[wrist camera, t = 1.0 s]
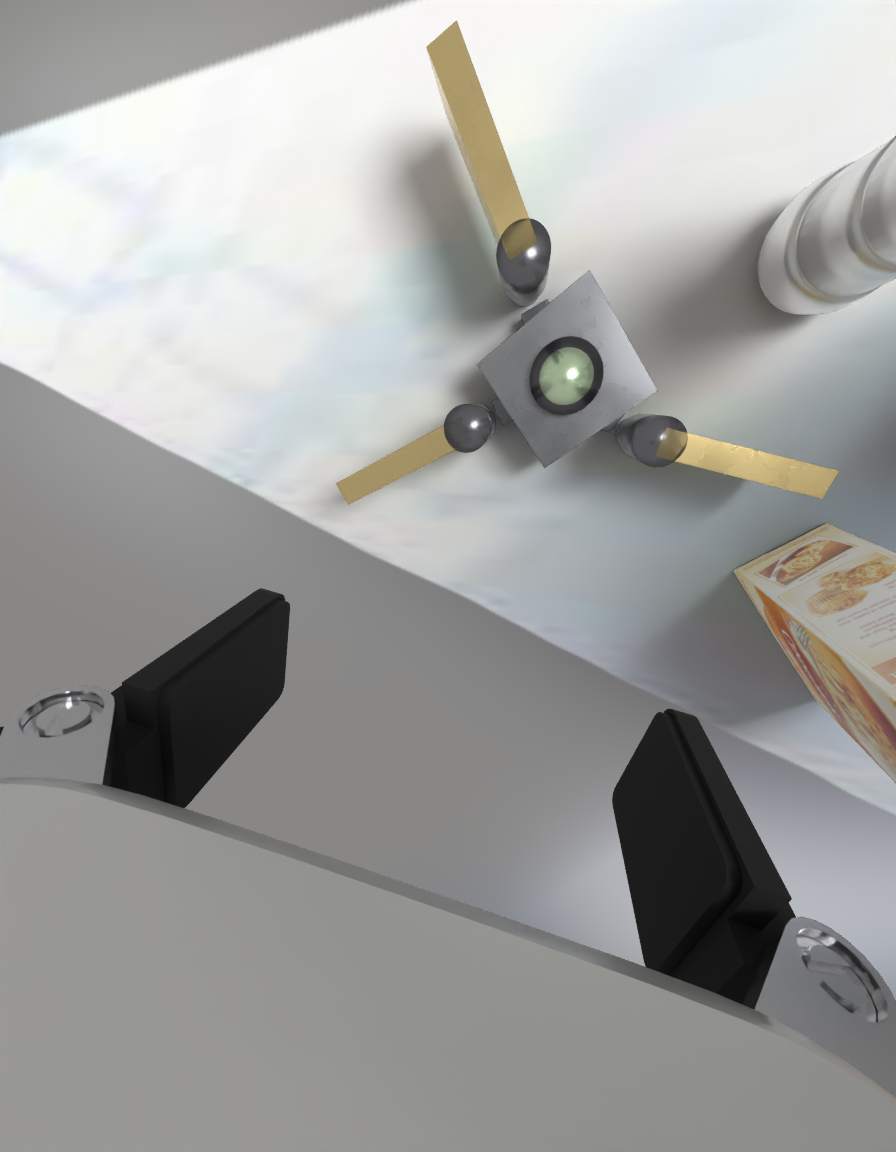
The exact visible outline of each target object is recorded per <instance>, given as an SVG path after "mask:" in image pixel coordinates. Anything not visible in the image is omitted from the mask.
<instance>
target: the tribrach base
mask: <svg viewBox="0 0 896 1152" xmlns="http://www.w3.org/2000/svg"><path fill="white" fill-rule="evenodd" d="M522 320H523V323H524V325H523V326H522V327H521V328H520V329H519V330H518V331H516V332H515V333H514V334H513V335H512V336H510V337H509V338H508V339H507V340H506V341H504V342H503V343H502V344H501V345H500V346H498V347H497V348H496V349H495V350H494V351H493V352H491V353H490V354H489V355H488V356H487V357H485V358H484V359H483V360H482V361H481V362H479V363H478V364H477V366H478V367H479V369H480V370H481V372H482V373H483V375H484V376H485V378H486V379H487V381H488V383H489V384H490V386H491V387H492V389H493V390H494V392H495V393H496V395H497V396H498V399H496V400H495V401H493V402H492V403H493V406H494V408H495V410H496V413H497V415H498V417H499V419H500V422H501V424H502V425H504V424H506V423H508V422H510V421H512V420H513V421H514V422H515V424H516V425H517V427H518V428H519V430H520V431H521V433H522V435H523V436H524V438H525V439H526V441H527V442H528V444H529V445H530V447H531V448H532V450H533V451H534V453H535V454H536V456H537V457H538V459H539V461H540V462H541V464H542V465H543V467H544V468H546V467H547V466H549V465H550V464H552V463H553V462H554V461H556V460H557V459H559V458H560V457H562V456H563V455H565V454H566V453H568V452H569V451H571V450H572V449H573V448H575V447H576V446H578V445H579V444H581V443H582V442H584V441H585V440H587V439H588V438H590V437H591V436H593V435H594V434H595V433H597V432H598V431H600V430H601V429H604V430H605V431H607V432H609V433H610V432H611V431H612V429H613V428H614V427H615V426H616V424H617V423H618V422H619V421H620V419H621V418H622V417H623V415H624V414H625V413H626V412H628V411H629V410H631V409H632V408H634V407H635V406H636V405H638V404H639V403H641V402H642V401H644V400H645V399H647V398H648V397H650V396H651V395H653V394H654V393H655V392H657V391H658V390H657V389H656V387H655V385H654V383H653V381H652V380H651V378H650V376H649V374H648V373H647V371H646V369H645V367H644V365H643V364H642V362H641V360H640V358H639V357H638V355H637V353H636V351H635V349H634V348H633V346H632V344H631V342H630V341H629V339H628V337H627V335H626V333H625V332H624V330H623V328H622V326H621V324H620V323H619V321H618V319H617V317H616V316H615V314H614V312H613V310H612V308H611V307H610V305H609V303H608V301H607V300H606V298H605V296H604V294H603V292H602V291H601V289H600V287H599V285H598V284H597V282H596V280H595V278H594V276H593V275H592V273H591V271H590V270H589V271H588V272H587V273H585V274H584V275H583V276H582V277H581V278H579V279H578V280H577V281H576V282H575V283H573V284H572V285H571V286H570V287H569V288H568V289H566V290H565V291H564V292H563V293H562V294H560V295H559V296H558V297H557V298H556V299H554V300H553V301H552V302H551V303H550V304H549V302H548V300H545V301H543V302H542V303H540V304H538V305H536V306H535V307H533V308H531V309H530V310H528V311H526V312H525V313H523V314H522Z"/></svg>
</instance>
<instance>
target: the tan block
mask: <svg viewBox="0 0 896 1152" xmlns="http://www.w3.org/2000/svg"><path fill="white" fill-rule="evenodd" d="M494 430H495V418H494V415H493V413H492V412H491V411H490V409H488V408H487V407H486V406H484V405H481V404H463V405H459V406H457V407H455V408H453V409H452V410H451V411H450V412H449V414H448V415H447V417H446V419H445V422H444V425H443V426H442V427H440V428H438V429H436V430H434V431H432V432H431V433H429V434H427V435H425V436H423V437H421V438H419V439H418V440H416V441H414V442H412V443H410V444H408V445H406V446H405V447H403V448H401V449H399V450H397V451H395V452H393V453H392V454H390V455H388V456H386V457H384V458H382V459H381V460H379V461H377V462H375V463H373V464H371V465H369V466H368V467H366V468H364V469H362V470H360V471H358V472H356V473H355V474H353V475H351V476H349V477H347V478H345V479H343V480H342V481H340V482H338V483H336V484H337V486H338V488H339V490H340V492H341V493H342V495H343V497H344V499H345V500H346V502H347V504H348V505H349V504H351V503H353V502H354V501H356V500H358V499H360V498H362V497H364V496H366V495H368V494H370V493H372V492H374V491H376V490H378V489H380V488H382V487H384V486H386V485H388V484H389V483H391V482H393V481H395V480H397V479H399V478H401V477H403V476H405V475H407V474H409V473H411V472H413V471H415V470H417V469H419V468H421V467H423V466H425V465H426V464H428V463H430V462H432V461H434V460H436V459H438V458H440V457H442V456H444V455H446V454H448V453H450V452H452V451H454V450H457V451H460V452H464V453H468V452H473V451H475V450H477V449H479V448H480V447H481V446H483V445H484V444H485V443H486V442H487V441H488V440H489V439H490V438H491V437H492V435H493V433H494Z"/></svg>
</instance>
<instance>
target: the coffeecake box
mask: <svg viewBox="0 0 896 1152" xmlns="http://www.w3.org/2000/svg"><path fill="white" fill-rule="evenodd" d="M734 573H735V575H736V576H737V578H738V580H739V581H740V583H741V585H742V586H743V588H744V589H745V591H746V593H747V594H748V596H749V598H750V599H751V601H752V602H753V604H754V605H755V607H756V609H757V610H758V612H759V613H760V615H761V616H762V618H763V620H764V621H765V623H766V624H767V626H768V627H769V629H770V631H771V632H772V634H773V635H774V637H775V638H776V640H777V642H778V643H779V645H780V646H781V648H782V649H783V651H784V652H785V654H786V655H787V657H788V658H789V660H790V662H791V663H792V665H793V666H794V668H795V669H796V671H797V672H798V674H799V675H800V677H801V679H802V680H803V682H804V683H805V685H806V686H807V688H808V689H809V691H810V692H811V694H812V695H813V697H814V698H815V700H816V701H817V702H818V703H819V704H820V705H821V706H822V707H823V708H824V709H825V710H826V711H827V712H828V713H829V714H830V715H831V716H832V717H833V718H834V719H835V720H836V721H837V722H838V723H839V725H840V726H841V727H842V728H843V729H844V730H845V731H846V732H847V733H848V734H849V735H850V736H851V737H852V738H853V739H854V740H855V741H856V742H857V743H858V744H859V745H860V746H861V747H862V748H863V750H864V751H865V752H866V753H867V754H868V755H869V756H870V757H871V758H872V759H873V760H874V761H875V762H876V763H877V764H878V765H879V766H880V767H881V768H882V769H883V770H884V772H885V773H886V774H887V775H888V776H889V777H890V778H891V779H892V780H893V781H894V782H895V783H896V552H893V551H891V550H888V549H886V548H884V547H881V546H879V545H877V544H874V543H872V542H869V541H867V540H864V539H862V538H860V537H857V536H855V535H852V534H850V533H848V532H845V531H843V530H841V529H839V528H836V527H834V526H832V525H830V524H828V523H825V524H823V525H822V526H820V527H818V528H816V529H814V530H812V531H810V532H808V533H806V534H804V535H802V536H800V537H799V538H797V539H795V540H793V541H791V542H789V543H787V544H785V545H783V546H781V547H779V548H777V549H775V550H773V551H771V552H769V553H766V554H764V555H762V556H760V557H758V558H756V559H754V560H752V561H750V562H748V563H746V564H744V565H743V566H741V567H739V568H737V569H735V570H734Z"/></svg>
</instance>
